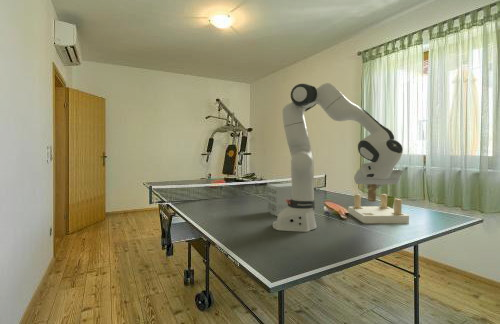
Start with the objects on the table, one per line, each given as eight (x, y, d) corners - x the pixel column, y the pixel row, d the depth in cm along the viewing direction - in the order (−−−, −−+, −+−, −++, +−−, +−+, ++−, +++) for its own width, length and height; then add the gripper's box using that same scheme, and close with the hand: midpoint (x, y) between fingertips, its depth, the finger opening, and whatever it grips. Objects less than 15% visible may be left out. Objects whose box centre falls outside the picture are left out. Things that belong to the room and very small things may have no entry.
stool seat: (363, 223, 148) (364, 200, 147) (348, 212, 172) (348, 193, 171) (408, 223, 148) (409, 200, 147) (387, 212, 172) (387, 193, 171)
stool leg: (369, 201, 136) (370, 179, 135) (366, 200, 139) (367, 178, 139) (376, 201, 136) (377, 179, 135) (373, 200, 139) (374, 178, 139)
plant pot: (396, 212, 174) (396, 198, 173) (380, 211, 177) (380, 197, 176) (394, 208, 183) (394, 195, 182) (378, 208, 186) (378, 195, 185)
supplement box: (291, 209, 182) (291, 182, 181) (301, 214, 169) (302, 185, 168) (267, 212, 176) (267, 183, 175) (276, 216, 163) (276, 186, 162)
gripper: (401, 164, 129) (390, 182, 140) (357, 164, 130) (350, 182, 140) (406, 175, 125) (394, 192, 135) (361, 174, 125) (352, 192, 136)
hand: (371, 187), depth 138 cm, fingers closed on stool leg, 4 cm apart
